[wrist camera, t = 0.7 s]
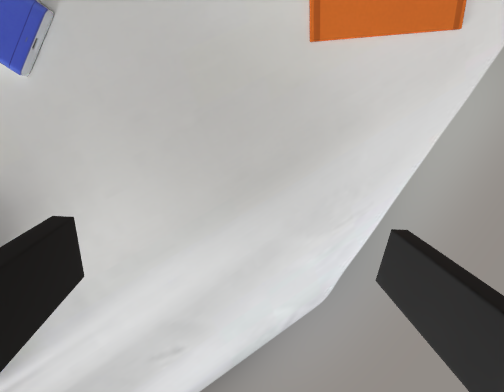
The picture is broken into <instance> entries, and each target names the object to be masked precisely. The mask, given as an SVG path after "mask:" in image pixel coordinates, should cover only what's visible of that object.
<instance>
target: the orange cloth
mask: <svg viewBox="0 0 504 392" xmlns="http://www.w3.org/2000/svg"><path fill="white" fill-rule="evenodd" d="M465 6H466V0H310V42H313V41H325V40H337V39H349V38H360V37H372V36H384V35H395V34H407V33H419V32H431V31H442V30H454V29H461V28H462V23H463V17H464V11H465Z"/></svg>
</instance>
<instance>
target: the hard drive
mask: <svg viewBox="0 0 504 392" xmlns="http://www.w3.org/2000/svg"><path fill="white" fill-rule="evenodd" d="M53 15H54V13H53V12H52V11H51V10H49V9H48V8H47V7H45V6H44V5H43V4H41V3H40V2H38V1H37V0H0V63H1V64H3V65H5V66H6V67H8V68H10V69H11V70H13V71H14V72H16V73H17V74H19V75H22V76H28V75H29V73H30V71H31V69H32V66H33V64H34V62H35V59H36V57H37V54H38V52H39V49H40V47H41V45H42V42H43V40H44V38H45V35H46V33H47V30H48V28H49V26H50V23H51V21H52V19H53Z"/></svg>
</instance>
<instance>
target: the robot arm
mask: <svg viewBox="0 0 504 392" xmlns="http://www.w3.org/2000/svg"><path fill="white" fill-rule="evenodd" d="M83 277H84V272H83V266H82V260H81V255H80V249H79V244H78V238H77V232H76V227H75V221H74V217H63V216H52V217H50V218H48V219H47V220H45V221H43V222H42V223H40V224H38V225H37V226H35V227H33V228H32V229H30V230H28V231H27V232H25V233H23V234H22V235H20V236H18V237H17V238H15V239H13V240H12V241H10V242H8V243H7V244H5V245H3V246H2V247H0V372H1V371H2V370H3V369H4V368H5V366H6V365H7V364H8V363H9V362H10V361H11V360H12V358H13V357H14V356H15V355H16V354H17V353H18V352H19V350H20V349H21V348H22V347H23V346H24V345H25V344H26V342H27V341H28V340H29V339H30V338H31V337H32V336H33V334H34V333H35V332H36V331H37V330H38V329H39V328H40V326H41V325H42V324H43V323H44V322H45V321H46V320H47V318H48V317H49V316H50V315H51V314H52V313H53V312H54V310H55V309H56V308H57V307H58V306H59V305H60V304H61V302H62V301H63V300H64V299H65V298H66V297H67V296H68V294H69V293H70V292H71V291H72V290H73V289H74V288H75V286H76V285H77V284H78V283H79V282H80V281H81V280H82V278H83ZM376 281H377V283H378V284H379V285H380V286H381V288H382V289H383V290H384V291H385V292H386V293H387V295H388V296H389V297H390V298H391V299H392V301H393V302H394V303H395V304H396V305H397V306H398V308H399V309H400V310H401V311H402V312H403V314H404V315H405V316H406V317H407V318H408V320H409V321H410V322H411V323H412V324H413V325H414V326H415V328H416V329H417V330H418V331H419V332H420V334H421V335H422V336H423V337H424V338H425V340H426V341H427V342H428V343H429V344H430V346H431V347H432V348H433V349H434V350H435V352H436V353H437V354H438V355H439V356H440V357H441V359H442V360H443V361H444V362H445V363H446V365H447V366H448V367H449V368H450V369H451V370H452V372H453V373H454V374H455V375H456V376H457V378H458V379H459V380H460V381H461V382H462V384H463V385H464V386H465V387H466V388H467V389H468V391H469V392H504V296H503V295H502V294H500V293H499V292H497V291H496V290H494V289H493V288H491V287H490V286H488V285H487V284H486V283H484V282H482V281H481V280H480V279H478V278H477V277H475V276H474V275H472V274H471V273H469V272H468V271H467V270H465V269H464V268H462V267H461V266H459V265H458V264H456V263H455V262H453V261H452V260H450V259H449V258H448V257H446V256H444V255H443V254H442V253H440V252H439V251H437V250H436V249H434V248H433V247H432V246H430V245H429V244H427V243H426V242H424V241H423V240H421V239H420V238H418V237H417V236H415V235H414V234H413V233H411V232H409V231H408V230H393V229H392V230H391V233H390V236H389V239H388V243H387V246H386V249H385V252H384V256H383V259H382V262H381V265H380V268H379V272H378V275H377V278H376Z"/></svg>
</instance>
